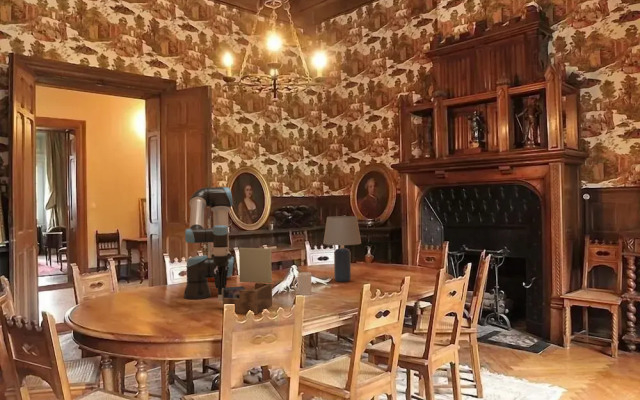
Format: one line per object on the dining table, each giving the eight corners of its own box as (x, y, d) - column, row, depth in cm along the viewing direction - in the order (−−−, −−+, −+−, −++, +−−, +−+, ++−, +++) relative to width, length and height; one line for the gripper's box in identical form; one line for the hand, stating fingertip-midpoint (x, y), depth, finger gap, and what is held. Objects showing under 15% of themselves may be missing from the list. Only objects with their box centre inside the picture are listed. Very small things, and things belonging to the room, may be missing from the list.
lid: (239, 248, 272) (240, 247, 274) (239, 281, 273) (240, 281, 274) (270, 248, 267) (271, 248, 269) (270, 283, 267) (272, 282, 269)
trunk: (223, 312, 255) (222, 289, 255) (240, 304, 274) (240, 282, 274) (256, 314, 249) (256, 291, 249) (272, 305, 269) (271, 283, 268)
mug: (296, 296, 292) (296, 275, 292) (289, 294, 300) (289, 273, 300) (314, 294, 298) (314, 273, 298) (307, 291, 306) (307, 271, 306)
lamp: (318, 279, 350) (318, 216, 349) (353, 277, 357) (352, 215, 357) (330, 285, 326) (330, 218, 325) (367, 283, 333) (366, 217, 333)
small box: (224, 310, 259) (224, 289, 259) (223, 307, 266) (223, 287, 265) (245, 308, 262) (245, 288, 262) (243, 306, 269) (243, 286, 268)
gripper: (220, 256, 258) (221, 303, 258) (233, 253, 271) (233, 298, 271) (207, 256, 261) (208, 302, 261) (220, 253, 273) (220, 297, 273)
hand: (221, 300), depth 266 cm, fingers closed
